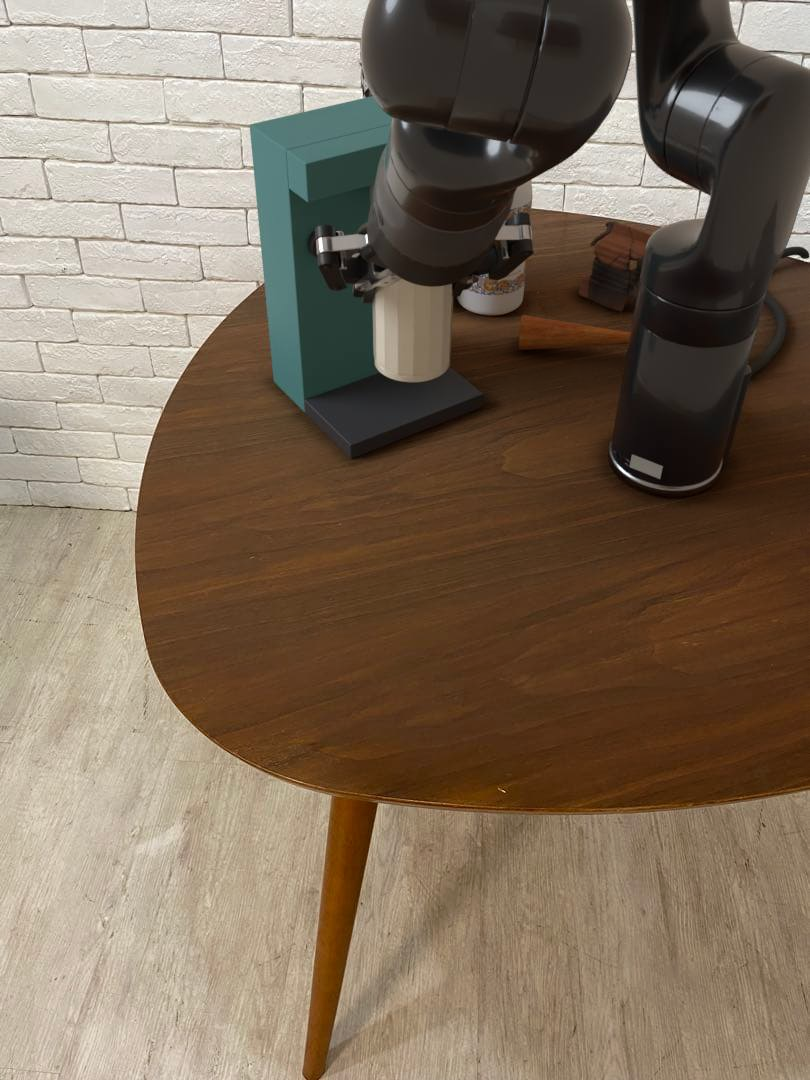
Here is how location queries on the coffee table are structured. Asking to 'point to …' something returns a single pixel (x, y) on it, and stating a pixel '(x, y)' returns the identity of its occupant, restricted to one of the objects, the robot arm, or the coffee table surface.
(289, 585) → the coffee table surface
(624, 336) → the wooden cone
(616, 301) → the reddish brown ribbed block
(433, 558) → the coffee table surface
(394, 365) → the container
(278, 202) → the coffee maker
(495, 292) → the bath foam
